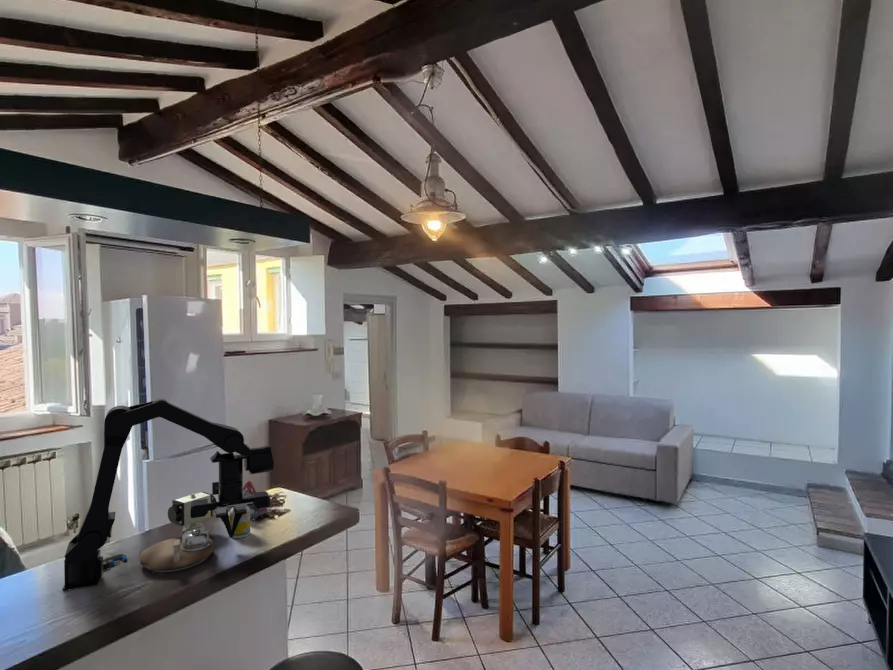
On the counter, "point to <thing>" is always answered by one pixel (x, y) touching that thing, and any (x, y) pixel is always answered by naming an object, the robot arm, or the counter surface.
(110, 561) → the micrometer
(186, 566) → the turntable base
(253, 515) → the brake caliper
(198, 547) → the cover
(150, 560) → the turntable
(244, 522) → the supplement bottle
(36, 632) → the counter surface
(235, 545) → the counter surface
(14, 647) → the counter surface
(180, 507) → the pneumatic valve
